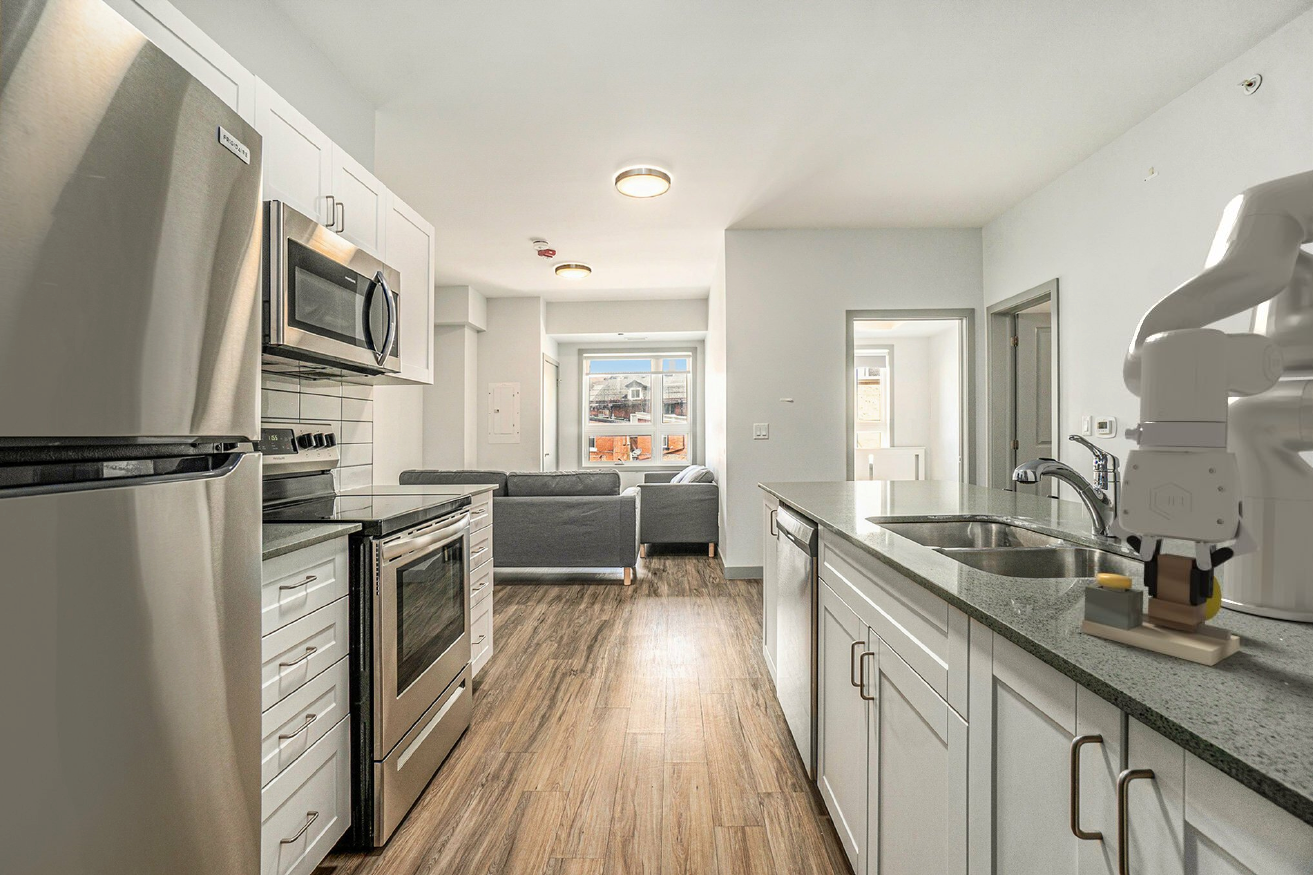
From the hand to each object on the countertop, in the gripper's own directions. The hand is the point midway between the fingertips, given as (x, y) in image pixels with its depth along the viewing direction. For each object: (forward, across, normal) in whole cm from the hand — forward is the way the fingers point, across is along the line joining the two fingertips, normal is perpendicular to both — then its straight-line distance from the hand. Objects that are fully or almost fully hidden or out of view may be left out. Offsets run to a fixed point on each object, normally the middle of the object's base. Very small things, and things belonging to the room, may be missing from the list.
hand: (1177, 597), depth 67 cm
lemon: (+5, -1, +9) cm, 10 cm away
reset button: (+3, -4, -4) cm, 7 cm away
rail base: (+5, -1, -2) cm, 5 cm away
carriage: (+3, 0, 0) cm, 3 cm away
